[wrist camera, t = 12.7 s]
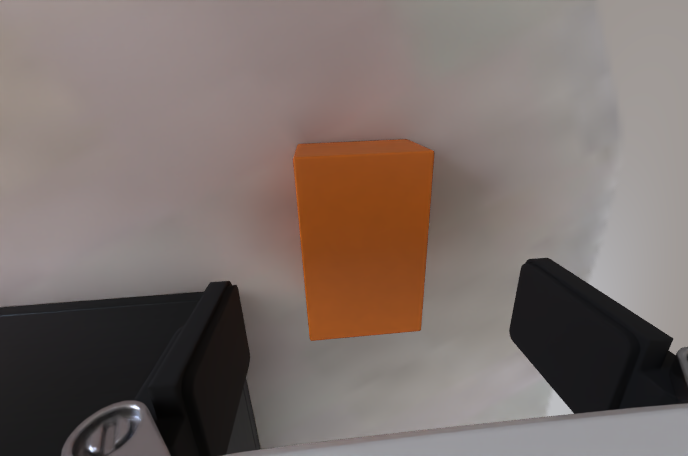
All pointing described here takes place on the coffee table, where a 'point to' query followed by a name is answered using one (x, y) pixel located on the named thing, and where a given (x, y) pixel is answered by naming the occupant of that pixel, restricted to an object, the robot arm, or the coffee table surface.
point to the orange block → (363, 235)
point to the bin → (87, 366)
